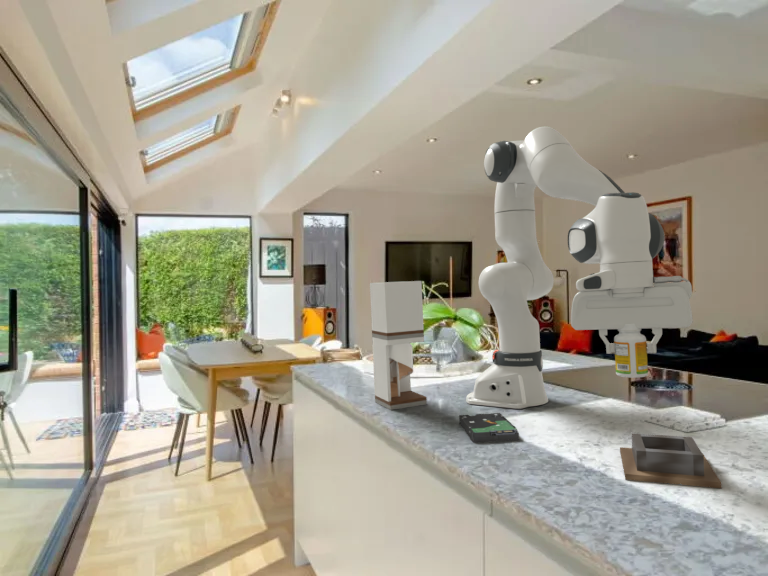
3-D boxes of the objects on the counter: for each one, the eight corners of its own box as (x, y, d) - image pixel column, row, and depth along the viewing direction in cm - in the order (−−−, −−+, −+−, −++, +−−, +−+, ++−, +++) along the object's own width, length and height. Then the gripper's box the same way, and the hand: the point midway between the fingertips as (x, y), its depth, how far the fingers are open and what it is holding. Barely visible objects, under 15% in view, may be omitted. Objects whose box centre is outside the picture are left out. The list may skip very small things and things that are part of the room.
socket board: (625, 479, 87) (624, 453, 87) (620, 452, 100) (619, 429, 100) (721, 488, 82) (720, 460, 82) (702, 458, 95) (702, 434, 95)
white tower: (390, 409, 141) (384, 282, 140) (375, 402, 150) (369, 283, 150) (426, 404, 145) (421, 280, 145) (409, 396, 155) (404, 281, 154)
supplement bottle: (645, 373, 96) (643, 321, 97) (650, 378, 91) (647, 323, 91) (614, 372, 98) (611, 322, 98) (617, 377, 93) (614, 324, 93)
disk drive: (458, 426, 125) (473, 445, 110) (457, 415, 125) (472, 432, 110) (500, 423, 125) (520, 441, 111) (499, 412, 125) (519, 428, 111)
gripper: (687, 275, 94) (692, 350, 94) (569, 281, 102) (573, 351, 102) (694, 274, 88) (699, 355, 88) (568, 282, 96) (572, 355, 96)
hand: (630, 353), depth 95 cm, fingers closed on supplement bottle, 5 cm apart
